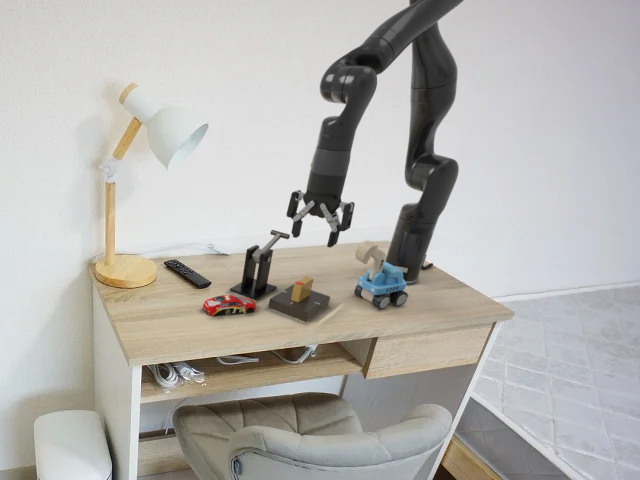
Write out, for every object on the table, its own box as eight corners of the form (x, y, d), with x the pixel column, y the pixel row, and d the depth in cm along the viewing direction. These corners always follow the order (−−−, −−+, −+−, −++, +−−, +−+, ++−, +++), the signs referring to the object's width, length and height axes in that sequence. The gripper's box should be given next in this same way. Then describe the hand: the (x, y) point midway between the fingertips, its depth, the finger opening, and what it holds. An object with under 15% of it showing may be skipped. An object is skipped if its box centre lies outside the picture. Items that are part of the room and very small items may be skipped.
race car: (249, 304, 129) (252, 290, 127) (258, 314, 124) (261, 300, 122) (200, 308, 126) (201, 294, 124) (207, 319, 122) (209, 304, 120)
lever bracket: (250, 281, 140) (256, 240, 134) (276, 290, 136) (284, 248, 130) (229, 292, 134) (235, 250, 128) (255, 302, 130) (263, 259, 123)
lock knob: (302, 292, 128) (306, 275, 126) (309, 295, 127) (313, 277, 125) (290, 299, 125) (294, 282, 122) (298, 302, 123) (302, 284, 121)
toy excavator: (331, 300, 132) (348, 236, 123) (382, 291, 137) (401, 229, 128) (355, 315, 125) (374, 249, 116) (407, 305, 130) (429, 241, 121)
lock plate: (291, 294, 134) (293, 283, 132) (328, 307, 128) (331, 296, 127) (267, 309, 127) (269, 297, 125) (305, 324, 121) (308, 312, 119)
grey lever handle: (273, 234, 136) (272, 227, 135) (290, 239, 133) (290, 231, 132) (247, 260, 131) (247, 252, 130) (264, 265, 129) (264, 258, 127)
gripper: (368, 173, 108) (349, 245, 116) (306, 161, 116) (292, 230, 125) (353, 179, 103) (334, 254, 112) (290, 166, 112) (277, 237, 120)
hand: (312, 241), depth 118 cm, fingers open, 8 cm apart
